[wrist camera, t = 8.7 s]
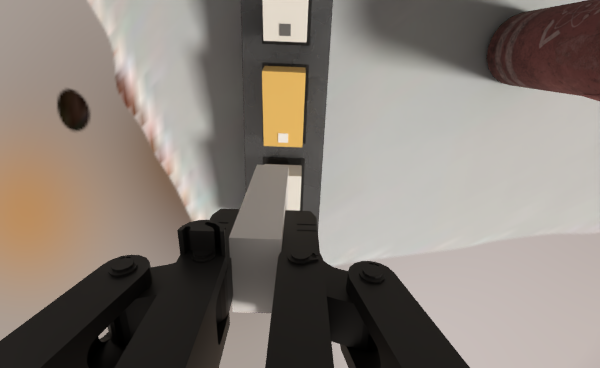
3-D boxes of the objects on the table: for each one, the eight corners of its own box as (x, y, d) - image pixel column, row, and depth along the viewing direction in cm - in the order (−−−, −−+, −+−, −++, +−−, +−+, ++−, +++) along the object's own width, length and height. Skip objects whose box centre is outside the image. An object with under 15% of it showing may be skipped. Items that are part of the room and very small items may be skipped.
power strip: (244, -155, 25) (234, -192, 21) (338, -150, 25) (345, -187, 21) (251, 213, 36) (245, 232, 32) (315, 215, 36) (317, 234, 33)
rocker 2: (264, 164, 28) (262, 175, 27) (301, 165, 28) (301, 176, 27) (266, 217, 32) (264, 230, 30) (299, 218, 32) (298, 232, 30)
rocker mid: (264, 65, 26) (261, 71, 24) (305, 67, 26) (305, 73, 24) (265, 137, 29) (263, 146, 27) (302, 138, 29) (302, 147, 27)
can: (470, 77, 31) (595, 94, 18) (503, 3, 29) (673, -38, 16) (528, 94, 32) (689, 124, 19) (565, 24, 29) (777, 0, 16)
